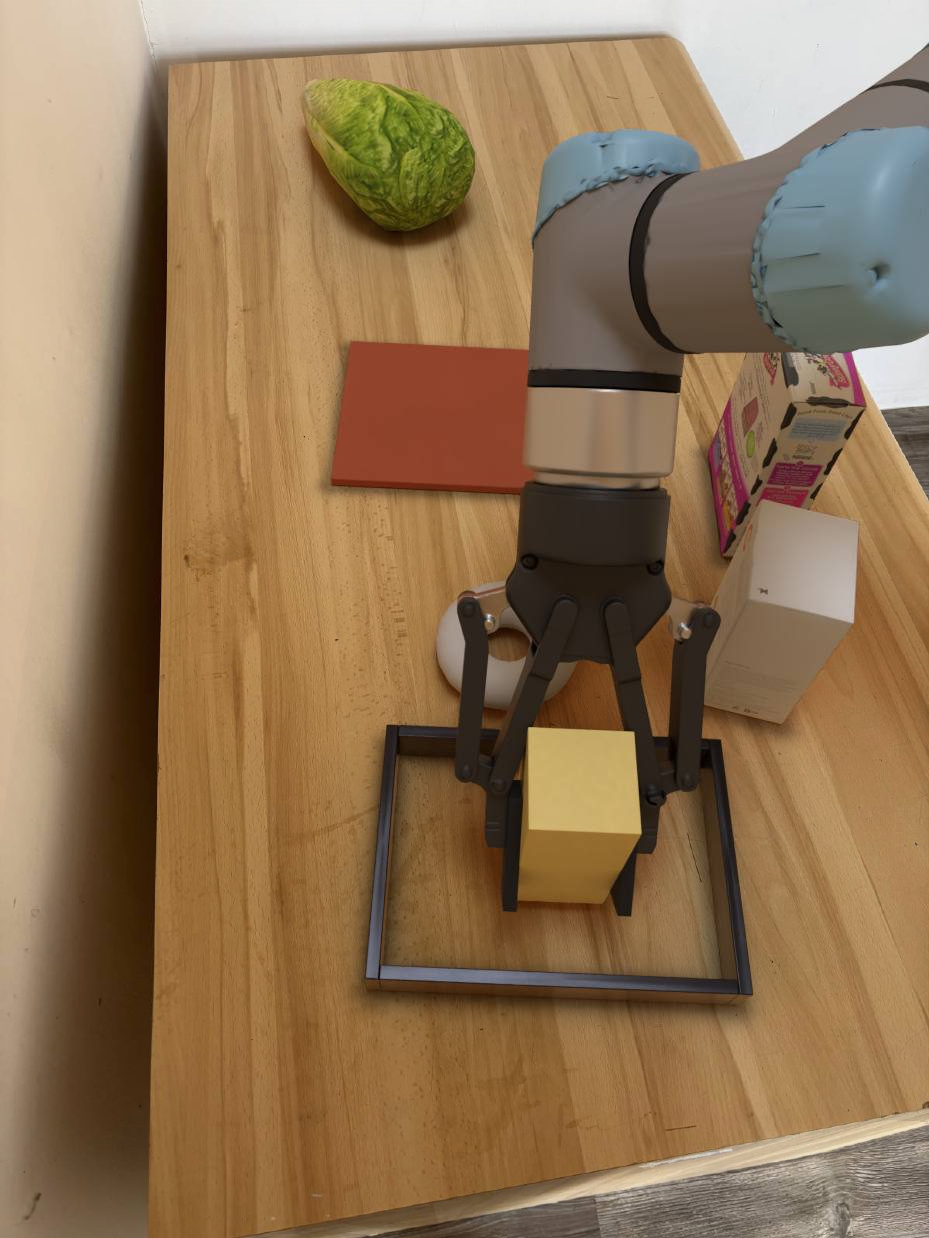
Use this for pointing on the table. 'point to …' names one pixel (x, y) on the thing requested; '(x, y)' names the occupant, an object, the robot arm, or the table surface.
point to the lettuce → (390, 149)
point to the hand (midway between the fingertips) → (564, 900)
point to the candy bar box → (781, 434)
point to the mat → (433, 418)
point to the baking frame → (563, 984)
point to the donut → (489, 657)
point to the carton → (576, 813)
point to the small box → (781, 610)
